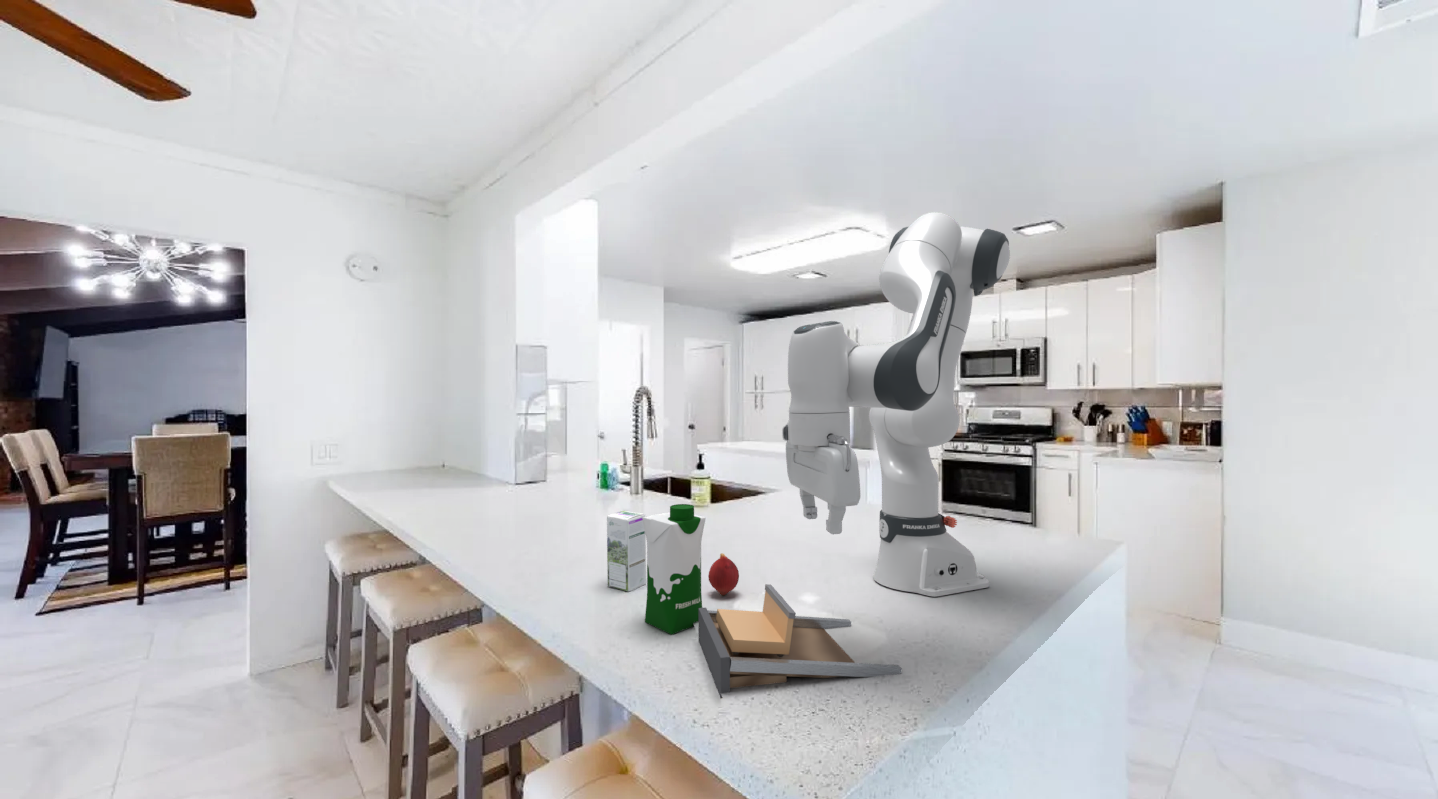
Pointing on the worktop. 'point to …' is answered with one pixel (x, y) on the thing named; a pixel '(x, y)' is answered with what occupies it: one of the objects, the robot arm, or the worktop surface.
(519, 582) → the worktop surface
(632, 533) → the syrup box
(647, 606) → the milk carton
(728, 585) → the onion
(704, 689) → the worktop surface
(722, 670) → the dock
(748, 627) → the cart
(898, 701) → the worktop surface
